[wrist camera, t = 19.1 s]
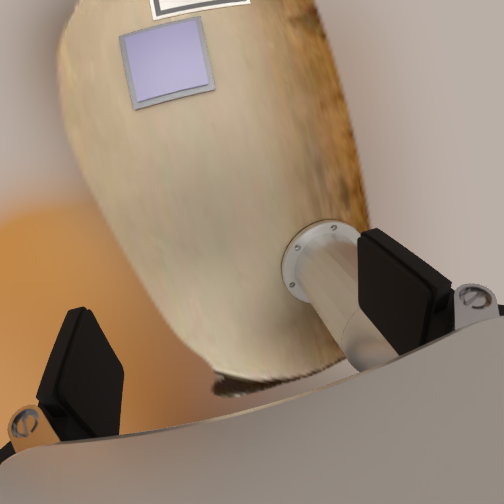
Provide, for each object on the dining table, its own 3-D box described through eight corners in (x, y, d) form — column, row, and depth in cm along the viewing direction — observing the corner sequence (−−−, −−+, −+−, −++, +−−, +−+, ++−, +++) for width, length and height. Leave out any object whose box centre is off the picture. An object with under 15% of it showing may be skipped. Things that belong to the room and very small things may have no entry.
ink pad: (199, 18, 28) (201, 13, 26) (214, 89, 32) (216, 88, 30) (120, 38, 27) (117, 34, 25) (135, 110, 31) (132, 109, 29)
